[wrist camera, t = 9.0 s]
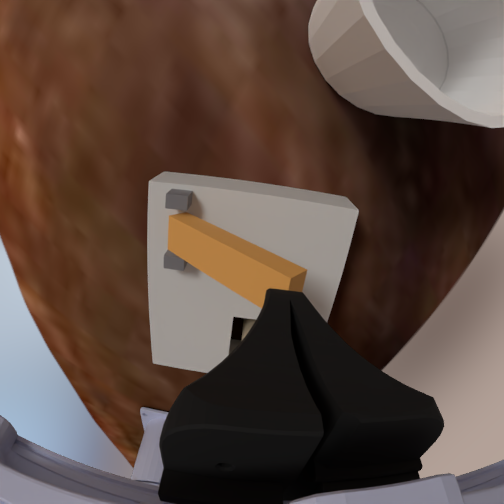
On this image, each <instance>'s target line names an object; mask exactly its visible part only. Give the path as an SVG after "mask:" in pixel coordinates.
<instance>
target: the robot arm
mask: <svg viewBox="0 0 504 504" xmlns="http://www.w3.org/2000/svg"><path fill="white" fill-rule="evenodd" d="M140 413H141V418H142V422H143V427H144V431H145V432H144V436H143V439H142V442H141V445H140V449H139V452H138V455H137V459H136V462H135V466H134V469H133V473H132V476H131V479H128V478H125V477H121V476H117V475H114V474H111V473H108V472H105V471H102V470H98V469H96V468H93V467H90V466H87V465H84V464H82V463H79V462H76V461H74V460H71V459H69V458H66V457H64V456H61V455H59V454H57V453H54V452H52V451H50V450H47V449H45V448H43V447H41V446H39V445H37V444H35V443H32V442H30V441H28V440H26V439H24V438H22V437H20V436H18V435H17V432H16V431H15V429H14V427H13V426H12V425H11V424H10V423H9V422H8V421H7V420H6V419H5V418H3V417H2V416H1V415H0V504H504V460H502V461H499V462H497V463H494V464H492V465H489V466H486V467H484V468H481V469H478V470H476V471H472V472H469V473H466V474H463V475H460V476H457V477H455V475H454V474H441V475H434V476H430V477H426V478H422V479H420V477H419V474H418V471H420V470H421V469H422V463H421V460H420V457H421V456H422V455H423V454H424V453H425V452H426V451H427V450H428V449H429V448H430V446H432V444H433V443H434V442H435V441H436V440H437V438H438V437H439V436H440V434H441V432H442V430H443V427H444V421H443V418H442V416H441V413H440V411H439V409H438V407H437V405H436V402H435V400H434V398H433V397H431V396H429V395H426V394H424V393H422V392H420V391H417V390H415V389H413V388H411V387H408V386H406V385H404V384H402V383H401V382H399V381H397V380H395V379H394V378H392V377H390V376H389V375H387V374H385V373H384V372H382V371H381V370H379V369H378V368H376V367H375V366H374V365H372V364H371V363H369V362H368V361H367V360H365V359H364V358H363V357H362V356H360V355H359V354H358V353H357V352H356V351H355V350H353V349H352V348H351V347H350V346H349V345H348V344H347V343H346V342H345V341H343V340H342V338H341V337H340V336H339V335H338V334H337V333H336V332H335V331H334V330H333V329H332V328H331V327H330V326H329V325H328V323H327V322H326V321H325V320H324V319H323V317H322V316H321V315H320V314H319V313H318V311H317V310H316V309H315V307H314V306H313V305H312V304H311V302H310V301H309V300H308V298H307V297H306V296H305V294H304V293H303V292H297V291H289V290H281V289H273V288H269V289H268V290H266V294H265V300H264V305H263V307H262V309H261V311H260V314H259V316H258V318H257V319H256V321H255V323H254V324H253V326H252V327H251V329H250V330H249V332H248V333H247V335H246V336H245V337H244V339H243V340H242V341H241V342H240V343H239V345H238V346H237V347H236V348H235V349H234V350H233V351H232V352H231V353H230V354H229V355H228V356H227V357H226V358H225V359H224V360H223V361H222V362H221V363H219V364H218V365H217V366H216V367H214V368H213V369H212V370H211V371H209V372H208V373H207V374H205V375H204V376H202V377H201V378H199V379H198V380H196V381H194V382H193V383H191V384H190V385H188V386H186V387H185V388H184V389H183V390H182V391H181V393H180V394H179V396H178V397H177V399H176V400H175V402H174V404H173V405H172V407H171V409H170V411H169V412H164V411H160V410H155V409H150V408H146V407H141V409H140Z"/></svg>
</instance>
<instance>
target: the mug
mask: <svg viewBox="0 0 504 504" xmlns="http://www.w3.org/2000/svg"><path fill="white" fill-rule="evenodd" d="M308 35H309V46H310V49H311V52H312V55H313V59H314V62H315V64H316V65H317V67H318V69H319V70H320V72H321V74H322V75H323V77H324V79H325V80H326V81H327V82H328V83H329V84H330V85H331V86H332V88H333V89H334V90H335V91H336V92H337V93H338V94H339V95H340V96H342V97H343V98H345V99H346V100H348V101H349V102H351V103H352V104H353V105H355V106H356V107H358V108H361V109H364V110H366V111H369V112H371V113H374V114H377V115H385V116H392V117H404V118H417V119H428V120H438V121H447V122H455V123H463V124H470V125H476V126H482V127H488V128H498V127H504V0H317V2H316V4H315V6H314V8H313V10H312V14H311V17H310V21H309V24H308Z"/></svg>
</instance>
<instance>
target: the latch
mask: <svg viewBox="0 0 504 504" xmlns="http://www.w3.org/2000/svg"><path fill="white" fill-rule="evenodd" d="M168 250H169V251H171V252H172V253H174V254H175V255H177V256H179V257H180V258H182V259H183V260H185V261H186V262H188V263H189V264H191V265H192V266H194V267H196V268H197V269H199V270H200V271H202V272H203V273H205V274H207V275H208V276H210V277H211V278H213V279H215V280H216V281H218V282H219V283H221V284H223V285H224V286H226V287H227V288H229V289H231V290H232V291H234V292H235V293H237V294H239V295H240V296H242V297H244V298H245V299H247V300H248V301H250V302H252V303H253V304H255V305H257V306H258V307H260V308H262V307H263V305H264V300H265V294H266V290H268V289H269V288H273V289H281V290H289V291H297V292H302V290H303V286H304V282H305V278H306V274H307V269H305V268H303V267H301V266H299V265H297V264H294V263H292V262H290V261H288V260H286V259H284V258H282V257H280V256H278V255H276V254H274V253H271V252H269V251H267V250H265V249H263V248H261V247H259V246H257V245H255V244H253V243H251V242H248V241H246V240H244V239H242V238H240V237H238V236H236V235H234V234H232V233H230V232H227V231H225V230H223V229H221V228H219V227H217V226H215V225H213V224H211V223H208V222H206V221H204V220H202V219H200V218H198V217H196V216H194V215H191V214H189V213H187V212H185V213H179V214H174V215H169V224H168Z"/></svg>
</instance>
